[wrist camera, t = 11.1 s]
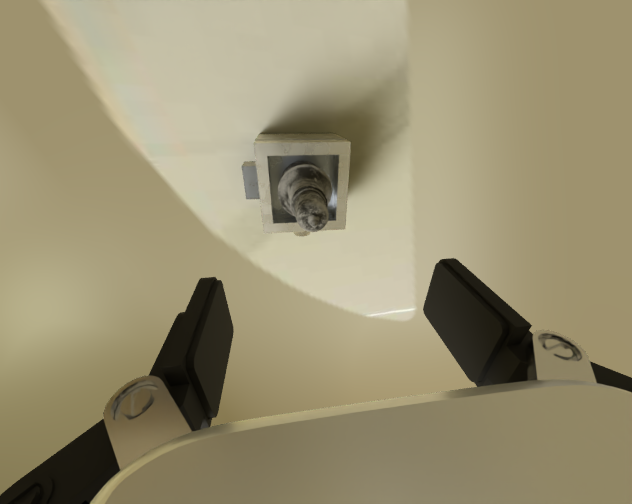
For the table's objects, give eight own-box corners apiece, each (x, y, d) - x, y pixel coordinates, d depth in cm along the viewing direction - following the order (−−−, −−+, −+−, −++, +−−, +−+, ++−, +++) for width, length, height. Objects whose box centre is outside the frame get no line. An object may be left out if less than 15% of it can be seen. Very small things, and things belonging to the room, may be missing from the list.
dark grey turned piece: (294, 215, 32) (301, 268, 22) (267, 174, 29) (261, 213, 19) (335, 192, 31) (362, 235, 21) (312, 147, 28) (331, 172, 18)
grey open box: (243, 133, 33) (232, 143, 25) (334, 133, 34) (351, 141, 26) (255, 225, 39) (249, 256, 31) (330, 221, 41) (344, 250, 32)
